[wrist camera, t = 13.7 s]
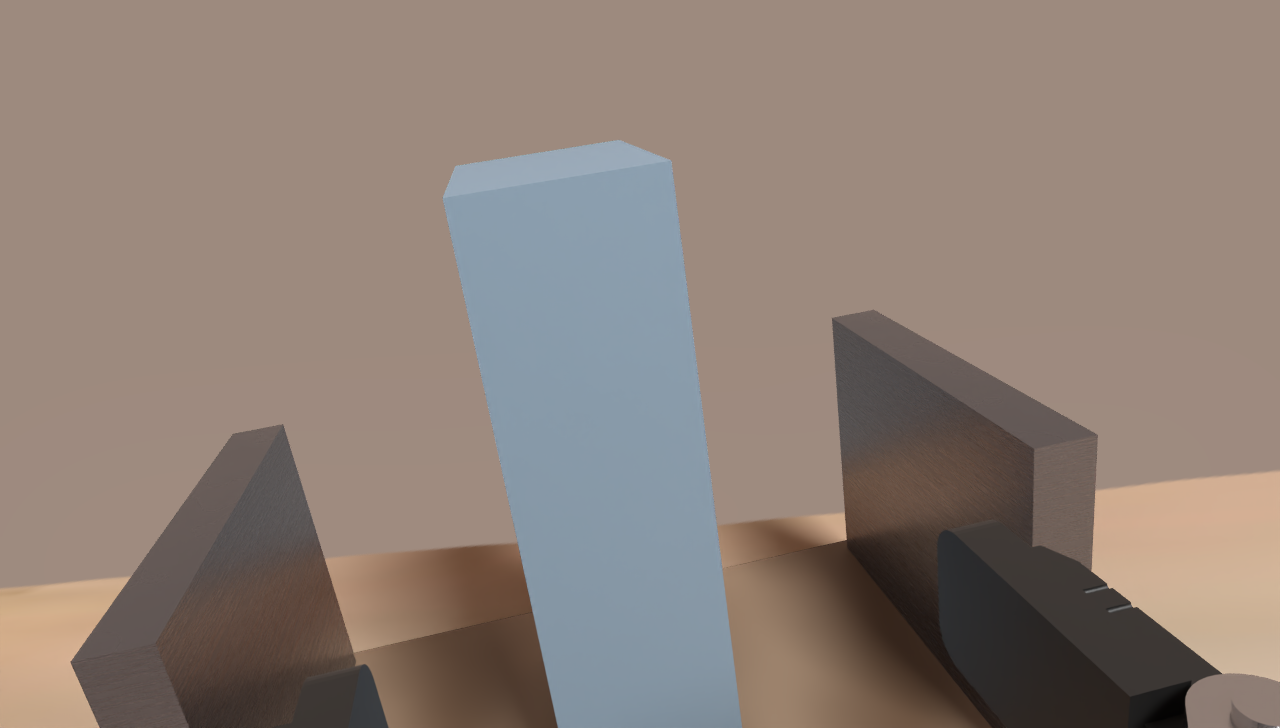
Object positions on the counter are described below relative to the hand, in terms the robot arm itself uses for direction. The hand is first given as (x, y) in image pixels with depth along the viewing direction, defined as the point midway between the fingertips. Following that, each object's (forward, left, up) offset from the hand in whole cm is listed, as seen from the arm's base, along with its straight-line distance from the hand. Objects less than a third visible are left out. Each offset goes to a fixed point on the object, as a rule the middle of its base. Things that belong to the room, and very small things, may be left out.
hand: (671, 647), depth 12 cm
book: (0, +11, -10) cm, 15 cm away
